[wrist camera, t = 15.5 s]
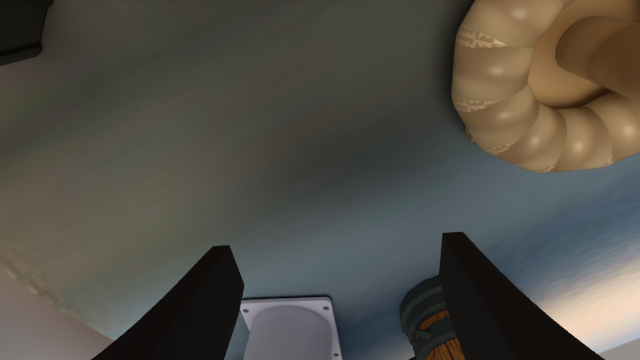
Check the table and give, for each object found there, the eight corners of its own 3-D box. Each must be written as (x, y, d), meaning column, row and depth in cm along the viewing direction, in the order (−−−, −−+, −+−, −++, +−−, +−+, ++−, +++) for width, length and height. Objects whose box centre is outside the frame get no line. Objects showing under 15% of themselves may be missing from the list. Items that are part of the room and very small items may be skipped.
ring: (656, 143, 17) (710, 173, 14) (439, 161, 18) (453, 191, 16) (784, -142, 11) (911, -175, 9) (454, -83, 13) (482, -98, 10)
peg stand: (638, 117, 18) (777, 184, 12) (464, 134, 19) (515, 203, 13) (722, -98, 13) (1019, -154, 7) (482, -56, 14) (575, -76, 8)
